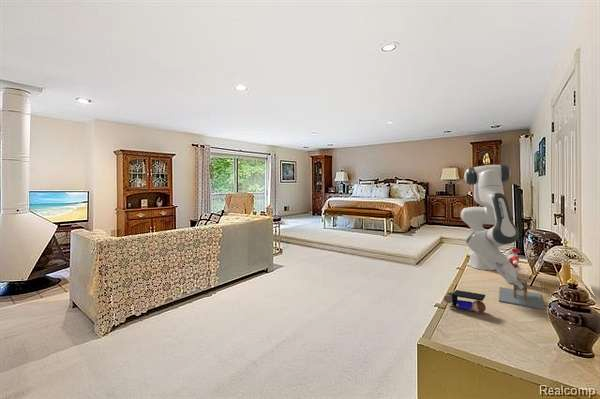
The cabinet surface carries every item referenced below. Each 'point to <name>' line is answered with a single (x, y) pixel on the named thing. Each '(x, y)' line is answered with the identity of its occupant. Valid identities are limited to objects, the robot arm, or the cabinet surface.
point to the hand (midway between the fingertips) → (522, 284)
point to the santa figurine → (514, 259)
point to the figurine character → (476, 305)
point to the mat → (521, 298)
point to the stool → (523, 282)
